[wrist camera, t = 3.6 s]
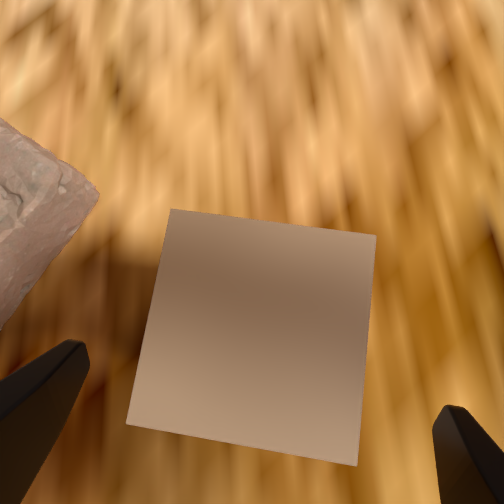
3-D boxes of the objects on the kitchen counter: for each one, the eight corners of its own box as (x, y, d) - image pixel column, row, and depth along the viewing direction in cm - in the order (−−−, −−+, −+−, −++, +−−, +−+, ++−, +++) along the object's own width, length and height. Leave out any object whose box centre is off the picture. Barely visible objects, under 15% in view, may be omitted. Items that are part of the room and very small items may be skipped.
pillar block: (309, 392, 17) (357, 466, 8) (205, 374, 18) (125, 424, 8) (321, 287, 18) (376, 235, 9) (223, 273, 19) (171, 208, 9)
